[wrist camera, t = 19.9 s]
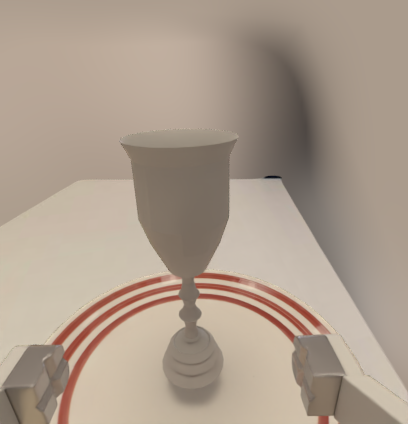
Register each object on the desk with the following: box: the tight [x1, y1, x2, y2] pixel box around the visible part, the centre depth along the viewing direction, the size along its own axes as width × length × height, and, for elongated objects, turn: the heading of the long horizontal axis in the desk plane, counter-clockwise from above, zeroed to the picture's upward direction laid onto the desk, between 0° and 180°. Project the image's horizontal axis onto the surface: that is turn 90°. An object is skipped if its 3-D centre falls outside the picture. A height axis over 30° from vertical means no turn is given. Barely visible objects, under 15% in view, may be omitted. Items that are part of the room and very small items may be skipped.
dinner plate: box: [43, 269, 365, 424], centre depth 24 cm, size 28×27×3 cm
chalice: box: [120, 129, 238, 389], centre depth 20 cm, size 7×7×18 cm
